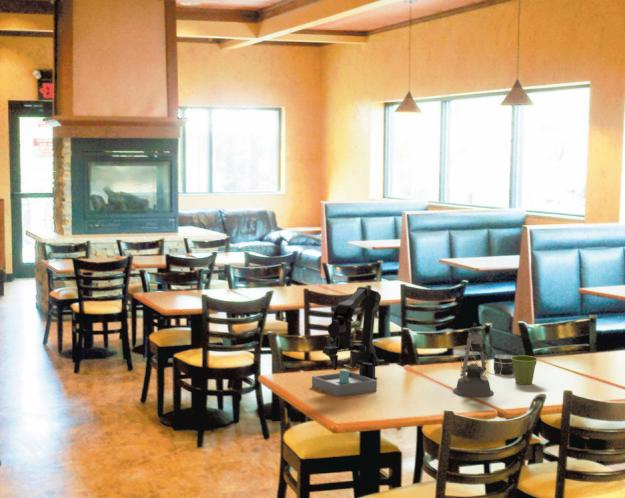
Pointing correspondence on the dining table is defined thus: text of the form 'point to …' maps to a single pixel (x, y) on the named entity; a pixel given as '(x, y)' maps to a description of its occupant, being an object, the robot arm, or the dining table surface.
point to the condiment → (351, 354)
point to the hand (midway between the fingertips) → (344, 368)
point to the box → (333, 386)
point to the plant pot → (524, 368)
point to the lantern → (474, 370)
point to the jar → (503, 364)
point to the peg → (344, 377)
